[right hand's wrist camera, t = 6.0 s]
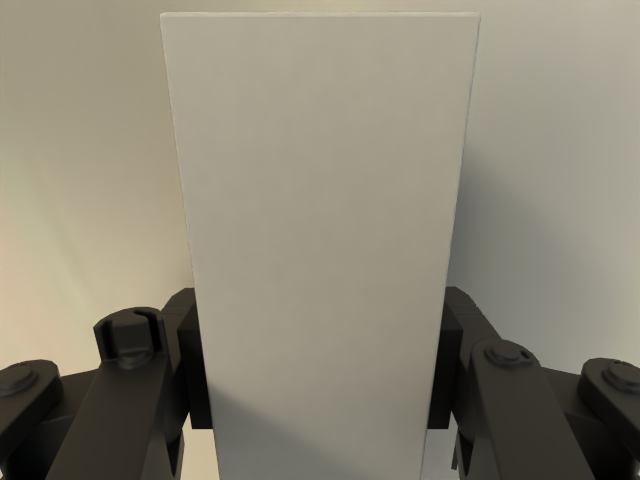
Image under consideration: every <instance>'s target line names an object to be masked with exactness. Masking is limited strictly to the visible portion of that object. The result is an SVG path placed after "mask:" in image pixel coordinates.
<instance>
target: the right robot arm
mask: <svg viewBox="0 0 640 480" xmlns="http://www.w3.org/2000/svg"><path fill="white" fill-rule="evenodd" d="M93 329H94V333H95V337H96V341H97V345H98V349H99V353H100V357H101V361H102V362H101V364H100V366H99V368H98V369H95V370H91V371H87V372H82V373H77V374H72V375H67V376H62V377H60V374H59V370H58V367H57V365H56V364H54V363H53V362H52V361H48V360H42V359H40V360H31V361H24V362H20V363H16V364H13V365H11V366H9V367H7V368H5V369H3V370H1V371H0V469H1V472H2V474H3V477H2V478H1V479H0V480H180V478H181V469H182V461H183V453H184V445H185V444H184V436H183V430H182V427H183V425H184V423H185V420H186V418H187V415H188V413H190V419H191V426H192V429H213V424H212V417H211V409H210V401H209V394H208V386H207V379H206V371H205V363H204V356H203V348H202V341H201V333H200V325H199V318H198V310H197V302H196V295H195V288H184V289H183V290H181V291H180V292H178V293H176V294H175V295H173V296H172V297H171V298H170V300H169V301H168V302H167V304H166V305H165V307H164V308H163V309H162V310H161V312H160V311H159V310H158V309H155V308H151V307H134V308H128V309H123V310H120V311H118V312H115V313H112V314H110V315H108V316H106V317H105V318H103V319H101V320H100V321H99V322H98V323H97V324H96V325H95V326H94V327H93ZM451 410H452V413H453V415H454V418H455V420H456V422H457V425H458V430H457V436H456V442H455V448H454V454H453V460H452V467H451V469H454V470H457V464H458V469H459V477H460V480H640V476H639V475H638V473H639V470H640V368H638V367H635V366H633V365H632V364H630V363H627V362H624V361H620V360H615V359H607V358H595V359H589V360H588V361H587V362H585V363H584V365H583V368H582V371H581V375H577V374H572V373H567V372H562V371H557V370H552V369H548V368H544V367H541V365H540V363H539V361H538V360H537V359H536V357H535V356H534V355H533V354H532V353H531V352H530V351H528V350H527V349H525V348H524V347H523V346H520V345H518V344H516V343H513V342H511V341H507V340H503V339H502V338H501V337H500V336H499V335H498V333H497V332H496V331H495V329H494V328H493V327H492V325H491V324H490V323H489V321H488V320H487V319H486V317H485V316H484V315H482V312H481V311H480V310H479V308H478V307H476V304H475V303H474V302H473V300H472V299H471V298H470V296H469V295H468V294H466V293H464V292H463V291H461V290H460V289H458V288H457V287H446V288H445V296H444V303H443V311H442V319H441V326H440V334H439V342H438V349H437V357H436V365H435V372H434V380H433V388H432V395H431V403H430V411H429V418H428V426H427V429H448V427H449V421H450V415H451Z"/></svg>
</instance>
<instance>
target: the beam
mask: <svg viewBox="0 0 640 480" xmlns="http://www.w3.org/2000/svg"><path fill="white" fill-rule="evenodd" d="M159 20H160V28H161V36H162V43H163V51H164V59H165V66H166V74H167V81H168V89H169V97H170V104H171V112H172V120H173V127H174V135H175V142H176V150H177V158H178V165H179V173H180V181H181V188H182V196H183V203H184V211H185V219H186V226H187V234H188V241H189V249H190V257H191V264H192V272H193V280H194V287H195V295H196V302H197V310H198V318H199V325H200V333H201V341H202V348H203V356H204V363H205V371H206V379H207V386H208V394H209V401H210V409H211V417H212V424H213V432H214V440H215V447H216V455H217V462H218V470H219V478H220V480H420V479H421V472H422V464H423V456H424V449H425V441H426V433H427V426H428V418H429V411H430V403H431V395H432V388H433V380H434V372H435V365H436V357H437V349H438V342H439V334H440V326H441V319H442V311H443V303H444V296H445V288H446V280H447V273H448V265H449V258H450V250H451V242H452V235H453V227H454V219H455V212H456V204H457V196H458V189H459V181H460V173H461V166H462V158H463V150H464V143H465V135H466V128H467V120H468V112H469V105H470V97H471V89H472V82H473V74H474V66H475V59H476V51H477V43H478V36H479V28H480V20H481V17H480V14H479V13H477V12H163V13H161V14H160V17H159Z"/></svg>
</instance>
